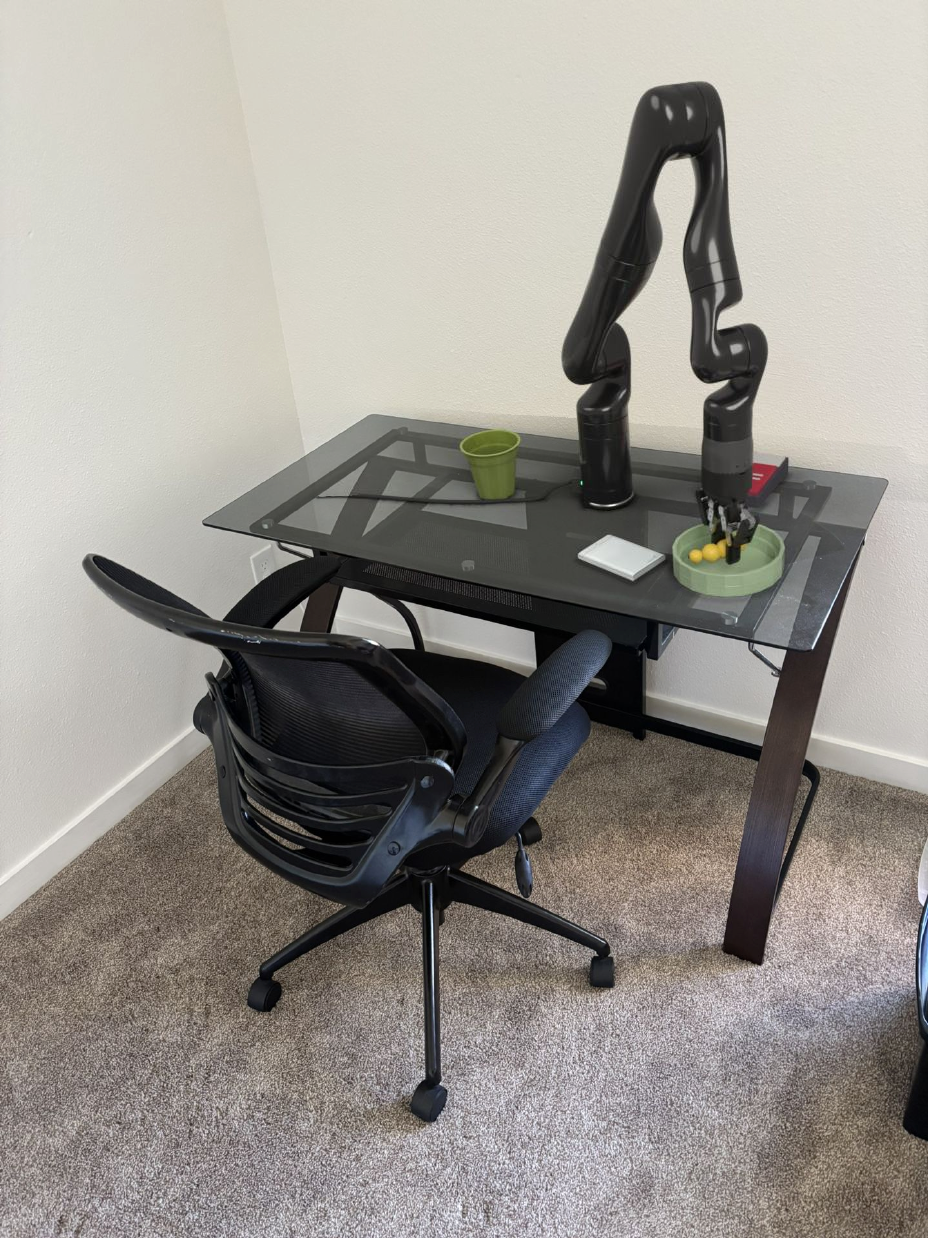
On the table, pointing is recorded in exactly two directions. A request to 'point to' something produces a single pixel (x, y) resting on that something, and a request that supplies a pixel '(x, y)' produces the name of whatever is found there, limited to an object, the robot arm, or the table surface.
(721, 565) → the bowl
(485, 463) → the plant pot
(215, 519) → the table surface
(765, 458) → the calculator
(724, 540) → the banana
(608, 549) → the hard drive
